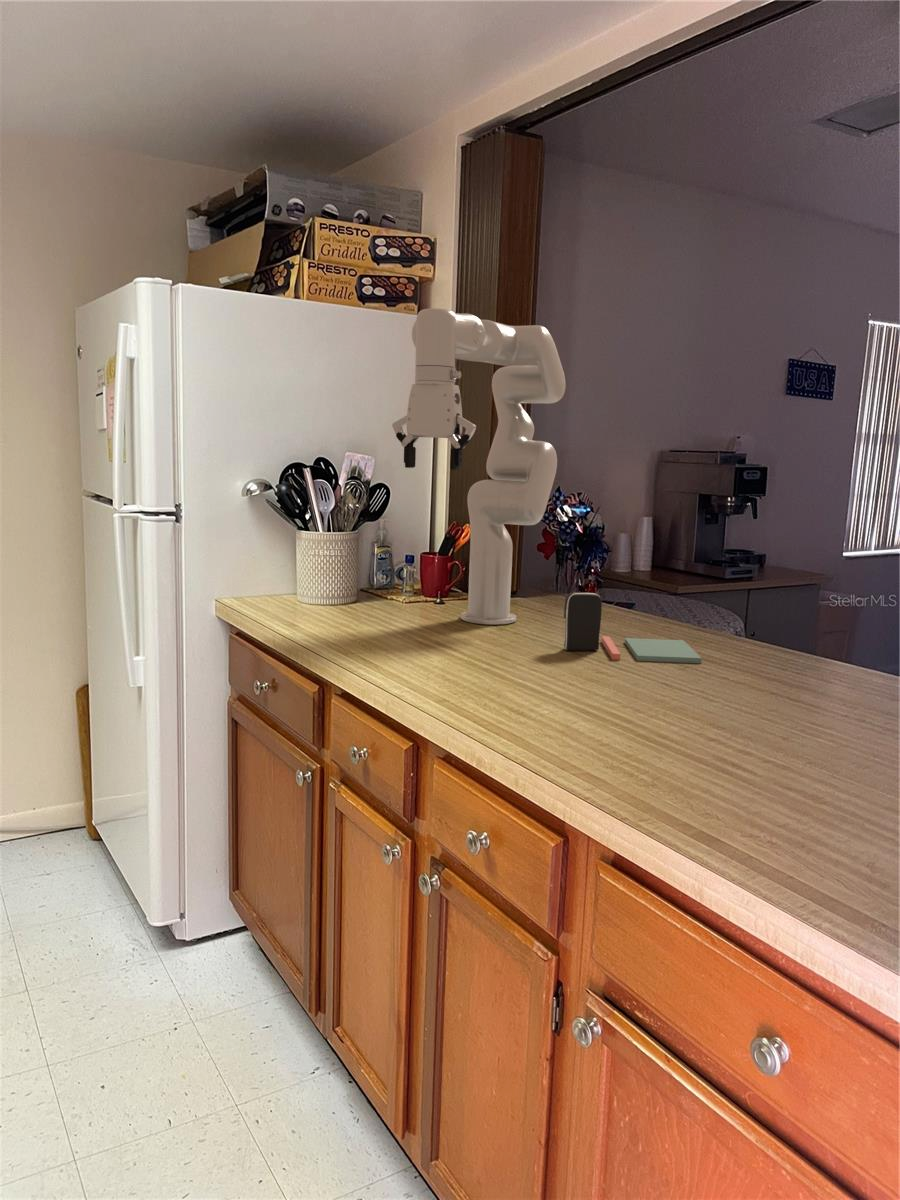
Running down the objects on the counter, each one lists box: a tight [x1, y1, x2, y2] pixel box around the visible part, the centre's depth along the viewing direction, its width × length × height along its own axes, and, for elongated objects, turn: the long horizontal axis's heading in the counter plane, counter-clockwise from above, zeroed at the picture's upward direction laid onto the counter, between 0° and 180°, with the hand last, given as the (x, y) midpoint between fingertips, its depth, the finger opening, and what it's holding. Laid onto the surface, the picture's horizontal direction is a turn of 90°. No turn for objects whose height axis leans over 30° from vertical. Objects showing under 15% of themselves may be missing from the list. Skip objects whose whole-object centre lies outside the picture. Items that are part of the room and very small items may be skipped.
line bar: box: [601, 635, 621, 661], centre depth 181 cm, size 16×2×1 cm, turn 178°
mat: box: [624, 637, 703, 664], centre depth 181 cm, size 16×12×1 cm
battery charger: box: [563, 591, 603, 652], centre depth 180 cm, size 7×4×11 cm, turn 102°
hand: (432, 468), depth 176 cm, fingers open, 9 cm apart
